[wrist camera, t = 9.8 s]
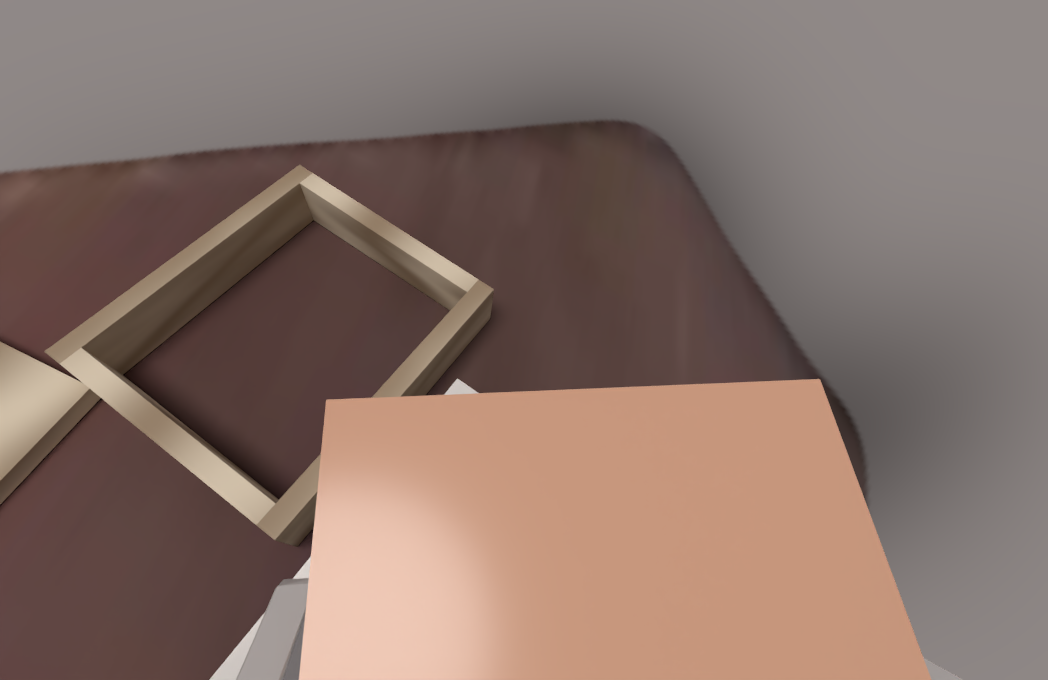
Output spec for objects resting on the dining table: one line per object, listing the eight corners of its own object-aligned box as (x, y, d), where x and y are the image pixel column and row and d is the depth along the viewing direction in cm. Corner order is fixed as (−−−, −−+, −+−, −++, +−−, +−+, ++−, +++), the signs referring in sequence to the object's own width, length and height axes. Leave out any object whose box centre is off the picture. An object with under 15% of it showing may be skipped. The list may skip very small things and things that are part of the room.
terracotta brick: (612, 712, 12) (1103, 1138, 3) (421, 737, 11) (230, 1388, 2) (586, 515, 13) (819, 378, 5) (422, 527, 13) (325, 400, 4)
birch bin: (490, 318, 23) (493, 289, 21) (297, 546, 18) (274, 540, 16) (313, 202, 25) (299, 164, 23) (90, 378, 20) (44, 351, 17)
